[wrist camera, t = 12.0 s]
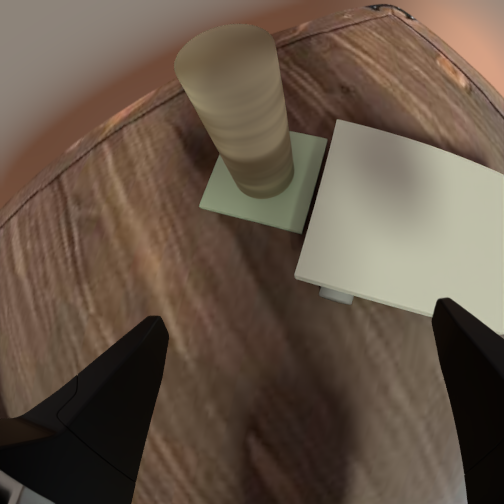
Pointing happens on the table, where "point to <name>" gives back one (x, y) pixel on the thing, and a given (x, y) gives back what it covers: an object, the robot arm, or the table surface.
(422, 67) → the table surface
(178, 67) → the birch roller
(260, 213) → the pad
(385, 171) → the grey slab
